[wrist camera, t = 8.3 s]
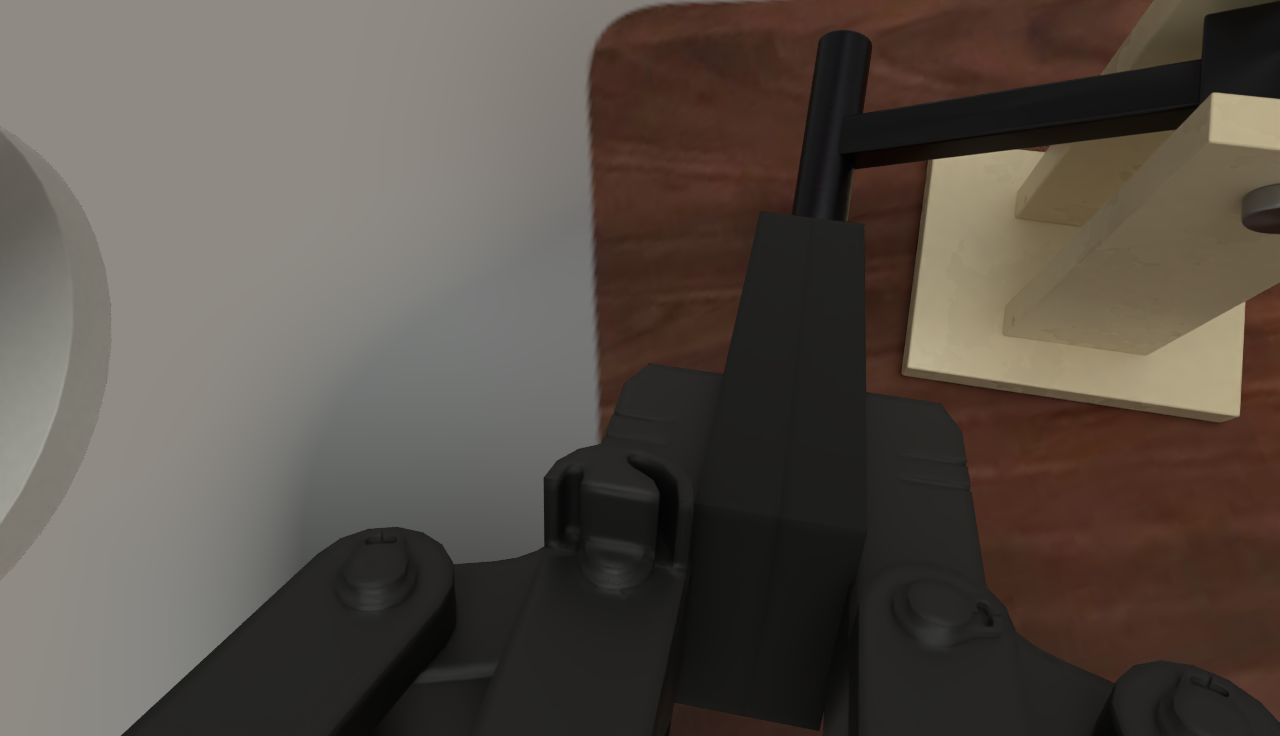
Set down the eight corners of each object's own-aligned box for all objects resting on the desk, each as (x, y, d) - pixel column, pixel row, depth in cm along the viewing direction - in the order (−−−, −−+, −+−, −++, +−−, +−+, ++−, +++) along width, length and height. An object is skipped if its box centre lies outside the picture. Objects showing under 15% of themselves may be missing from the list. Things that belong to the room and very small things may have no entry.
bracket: (900, 375, 31) (1037, 200, 17) (928, 154, 33) (1075, -179, 18) (1221, 423, 30) (1671, 277, 15) (1233, 190, 31) (1653, -142, 17)
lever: (810, 269, 25) (767, 236, 24) (839, 71, 27) (801, 25, 25) (1375, 239, 18) (1377, 188, 16) (1382, -34, 19) (1383, -111, 17)
